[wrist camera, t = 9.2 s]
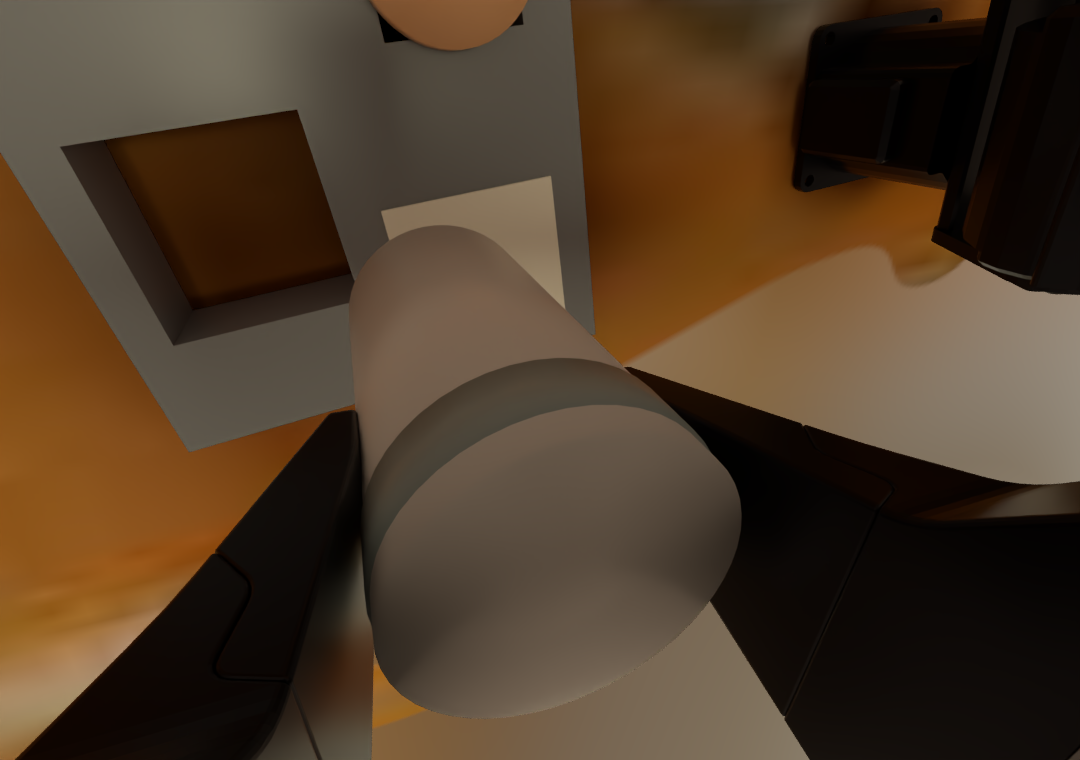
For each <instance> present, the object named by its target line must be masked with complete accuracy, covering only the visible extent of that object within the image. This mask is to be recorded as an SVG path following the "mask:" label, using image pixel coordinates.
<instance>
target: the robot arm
mask: <svg viewBox="0 0 1080 760" xmlns="http://www.w3.org/2000/svg"><path fill="white" fill-rule="evenodd" d="M826 35H827V42H826V44H825V38H826ZM866 177H874V178H879V179H885V180H891V181H896V182H902V183H908V184H914V185H919V186H925V187H931V188H937V189H942V190H946V192H945V196H944V200H943V204H942V208H941V212H940V217H939V221H938V225H937V226H935V227H934V231H933V235H932V239H931V241H932V242H934V243H936V244H938V245H940V246H942V247H944V248H946V249H947V250H949V251H951V252H953V253H955V254H957V255H959V256H961V257H963V258H964V259H966V260H968V261H970V262H972V263H974V264H976V265H978V266H980V267H981V268H983V269H985V270H987V271H989V272H991V273H993V274H995V275H997V276H998V277H1000V278H1002V279H1004V280H1006V281H1009V282H1011V283H1013V284H1015V285H1017V286H1019V287H1021V288H1023V289H1025V290H1028V291H1035V292H1037V291H1038V292H1047V293H1050V294H1072V295H1073V294H1074V295H1080V0H991V3H990V7H989V11H988V16H987V18H977V19H967V20H956V21H946V22H942V11H941V10H940V8H930V9H923V10H917V11H911V12H904V13H898V14H891V15H885V16H879V17H872V18H866V19H860V20H853V21H847V22H840V23H834V24H828V25H823V26H821V27H820V28H819V29H818V30H817V31H816V33H815V35H814V37H813V41H812V48H811V56H810V64H809V71H808V79H807V87H806V94H805V102H804V109H803V117H802V125H801V132H800V140H799V148H798V155H797V163H796V171H795V178H794V186H795V189H797V190H798V191H802V192H810V191H814V190H818V189H822V188H826V187H830V186H834V185H838V184H842V183H846V182H850V181H854V180H858V179H862V178H866ZM806 178H807V181H806V182H805V180H806ZM624 368H625V369H626V370H627V371H628V372H629V373H630V374H632V375H634V376H635V377H637V378H638V379H640V380H641V381H642V382H644V383H645V384H646V385H647V386H649V387H650V388H651V389H652V390H653V391H654V392H655V393H656V394H657V395H658V396H659V397H660V398H661V399H662V400H663V401H664V402H665V403H667V404H668V405H669V406H670V407H671V408H672V409H673V410H674V411H675V412H676V413H677V414H678V415H679V416H680V417H681V418H682V419H683V420H684V421H685V422H686V423H687V424H688V425H689V426H690V427H691V428H692V429H693V430H694V431H695V432H696V433H697V434H698V435H699V436H700V437H701V438H702V440H703V441H704V442H705V444H706V445H707V447H708V449H709V450H710V452H711V453H712V454H713V455H714V456H715V457H716V458H717V459H718V461H719V462H720V463H721V464H722V465H723V466H724V467H725V468H726V469H727V471H728V472H729V474H730V476H731V478H732V479H733V481H734V483H735V485H736V488H737V491H738V494H739V497H740V504H741V512H742V519H741V532H740V537H739V541H738V546H737V549H736V552H735V555H734V558H733V561H732V563H731V565H730V567H729V569H728V571H727V573H726V576H725V578H724V579H723V581H722V583H721V584H720V586H719V588H718V589H717V591H716V592H715V594H714V595H713V597H712V598H711V599H710V602H711V603H712V605H713V607H714V608H715V610H716V611H717V613H718V615H719V616H720V618H721V619H722V621H723V622H724V624H725V626H726V627H727V629H728V630H729V632H730V634H731V635H732V637H733V638H734V640H735V641H736V643H737V645H738V646H739V648H740V649H741V651H742V653H743V654H744V656H745V657H746V659H747V661H748V662H749V664H750V665H751V667H752V668H753V670H754V671H755V673H756V675H757V676H758V678H759V679H760V681H761V683H762V684H763V686H764V687H765V689H766V691H767V692H768V694H769V695H770V697H771V698H772V700H773V702H774V703H775V705H776V706H777V708H778V709H779V711H780V713H781V714H782V715H783V716H785V721H786V723H787V725H788V726H789V728H790V729H791V731H792V732H793V734H794V735H795V737H796V739H797V740H798V742H799V744H800V745H801V747H802V748H803V750H804V751H805V753H806V755H807V756H808V758H809V759H810V760H1080V481H1078V482H1070V483H1063V484H1047V485H1046V484H1045V485H1032V484H1019V483H1011V482H1005V481H999V480H995V479H991V478H986V477H982V476H979V475H975V474H971V473H968V472H964V471H961V470H957V469H954V468H950V467H946V466H943V465H939V464H935V463H932V462H928V461H925V460H921V459H917V458H914V457H910V456H907V455H903V454H899V453H895V452H892V451H889V450H885V449H882V448H878V447H875V446H871V445H868V444H864V443H861V442H858V441H855V440H851V439H848V438H845V437H842V436H838V435H835V434H832V433H829V432H826V431H823V430H820V429H817V428H814V427H811V426H808V425H805V426H802V424H801V423H798V422H795V421H792V420H789V419H786V418H783V417H780V416H777V415H774V414H771V413H768V412H765V411H762V410H759V409H756V408H753V407H750V406H746V405H744V404H741V403H738V402H734V401H731V400H728V399H725V398H722V397H719V396H716V395H713V394H710V393H707V392H704V391H701V390H698V389H695V388H692V387H689V386H686V385H683V384H680V383H677V382H674V381H671V380H668V379H665V378H662V377H659V376H656V375H653V374H649V373H647V372H643V371H640V370H637V369H634V368H631V367H624ZM362 505H363V501H362V476H361V454H360V441H359V429H358V416H357V412H356V411H354V410H348V411H341V412H335V413H331V414H329V415H328V416H327V417H326V418H325V419H324V421H323V422H322V423H321V424H320V425H319V427H318V428H317V429H316V430H315V431H314V433H313V434H312V435H311V436H310V437H309V439H308V440H307V441H306V442H305V443H304V445H303V446H302V447H301V448H300V449H299V450H298V452H297V453H296V454H295V455H294V456H293V458H292V459H291V460H290V461H289V462H288V464H287V465H286V466H285V467H284V468H283V470H282V471H281V472H280V473H279V474H278V476H277V477H276V478H275V479H274V480H273V482H272V483H271V484H270V485H269V486H268V488H267V489H266V490H265V491H264V492H263V494H262V495H261V496H260V497H259V498H258V500H257V501H256V502H255V503H254V504H253V506H252V507H251V508H250V509H249V510H248V512H247V513H246V514H245V515H244V516H243V518H242V519H241V520H240V521H239V522H238V524H237V525H236V526H235V527H234V528H233V530H232V531H231V532H230V533H229V534H228V536H227V537H226V538H225V539H224V540H223V542H222V543H221V544H220V545H219V546H218V548H217V549H216V551H215V554H212V555H211V556H210V557H209V558H208V559H207V560H206V562H205V563H204V564H203V565H202V566H201V568H200V569H199V570H198V571H197V572H196V573H195V575H194V576H193V577H192V578H191V579H190V580H189V582H188V583H187V584H186V585H185V586H184V587H183V588H182V589H181V591H180V592H179V593H178V594H177V595H176V596H175V597H174V599H173V600H172V601H171V602H170V603H169V604H168V605H167V606H166V608H165V609H164V610H163V611H162V612H161V613H160V614H159V615H158V616H157V617H156V618H155V619H154V620H153V621H152V622H151V623H150V624H149V625H148V626H147V627H146V628H145V630H144V631H143V632H142V633H141V634H140V635H139V636H138V637H137V638H136V639H135V640H134V641H133V642H132V643H131V644H130V645H129V646H128V647H127V648H126V649H125V650H124V651H123V652H122V653H121V654H120V655H119V656H118V657H117V658H116V659H115V660H114V661H113V662H112V663H111V664H110V665H109V666H108V667H107V668H106V669H105V670H104V671H103V672H102V673H101V674H100V675H99V676H98V677H97V678H96V679H95V680H94V681H93V682H92V683H91V684H90V685H89V686H88V687H87V688H86V689H85V690H84V691H83V692H82V693H81V694H80V695H79V696H78V697H77V698H76V699H75V700H74V701H73V702H72V703H71V704H70V705H69V706H68V707H67V708H66V709H65V710H64V711H63V712H62V713H61V714H60V715H59V716H58V717H57V718H56V719H55V720H54V721H53V722H52V723H51V724H50V725H49V726H48V727H47V728H46V729H45V730H44V731H43V732H42V733H41V734H40V735H39V736H38V737H37V738H36V739H35V740H34V741H33V742H32V743H31V744H30V745H29V746H28V747H27V748H26V749H25V750H24V751H23V752H22V753H21V754H20V755H19V756H18V757H17V758H16V759H15V760H371V752H372V706H373V658H374V642H373V634H372V626H371V623H370V620H369V618H368V615H367V610H366V602H365V594H364V578H363V563H362V548H361V533H360V524H361V509H362Z"/></svg>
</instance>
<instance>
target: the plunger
mask: <svg viewBox="0 0 1080 760" xmlns="http://www.w3.org/2000/svg"><path fill="white" fill-rule="evenodd" d="M369 1H370V2H371V4H372V5H373V7H374V8H375V9H376V10H377V12H378V13H379V14H380V15H381V16H382V17H383V19H384V20H386V21H387V22H388V23H389V24H390V25H391V26H392V27H393V28H394V29H395V30H397V31H398V32H399V33H401V34H402V35H403V36H405V37H407V38H409V39H410V40H412V41H414V42H416V43H418V44H421V45H423V46H425V47H429V48H433V49H437V50H444V51H458V50H464V49H469V48H473V47H478V46H481V45H483V44H485V43H488V42H490V41H492V40H493V39H495V38H497V37H498V36H500V35H501V34H502V33H503V32H504V31H506V30H507V29H508V28H509V27H510V26H511V25H512V24H513V22H514V21H515V20H516V19H517V17H518V16H519V15H520V13H521V12H522V10H523V8H524V7H525V5H526V3H527V1H528V0H369Z"/></svg>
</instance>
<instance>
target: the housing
mask: <svg viewBox="0 0 1080 760" xmlns="http://www.w3.org/2000/svg"><path fill="white" fill-rule="evenodd" d="M296 109H297V110H298V113H299V116H300V119H301V122H302V125H303V128H304V131H305V134H306V137H307V140H308V143H309V146H310V149H311V152H312V155H313V158H314V161H315V164H316V167H317V170H318V173H319V176H320V179H321V182H322V186H323V189H324V192H325V195H326V198H327V201H328V204H329V207H330V210H331V213H332V216H333V219H334V222H335V225H336V228H337V231H338V234H339V237H340V240H341V243H342V246H343V249H344V252H345V255H346V258H347V261H348V264H349V267H350V270H351V273H352V274H347V275H343V276H339V277H335V278H330V279H326V280H322V281H317V282H313V283H309V284H304V285H300V286H296V287H292V288H287V289H283V290H279V291H274V292H270V293H266V294H262V295H257V296H253V297H249V298H244V299H240V300H236V301H232V302H227V303H223V304H219V305H214V306H210V307H206V308H202V309H197V310H192V308H191V306H190V304H189V302H188V300H187V298H186V296H185V295H184V293H183V291H182V289H181V287H180V285H179V283H178V281H177V279H176V277H175V275H174V274H173V272H172V270H171V268H170V266H169V264H168V262H167V260H166V258H165V256H164V255H163V253H162V251H161V249H160V247H159V245H158V243H157V241H156V239H155V237H154V235H153V234H152V232H151V230H150V228H149V226H148V224H147V222H146V220H145V218H144V216H143V215H142V213H141V211H140V209H139V207H138V205H137V203H136V201H135V199H134V197H133V195H132V194H131V192H130V190H129V188H128V186H127V184H126V182H125V180H124V178H123V176H122V175H121V173H120V171H119V169H118V167H117V165H116V163H115V161H114V159H113V157H112V155H111V154H110V152H109V150H108V148H107V146H106V144H105V142H104V140H106V139H112V138H118V137H125V136H131V135H137V134H144V133H150V132H156V131H163V130H169V129H175V128H182V127H188V126H194V125H201V124H207V123H214V122H220V121H226V120H233V119H239V118H245V117H252V116H258V115H264V114H271V113H277V112H283V111H290V110H296ZM0 153H1V154H2V156H3V157H4V159H5V160H6V162H7V164H8V165H9V167H10V168H11V170H12V172H13V173H14V175H15V176H16V178H17V180H18V181H19V183H20V184H21V186H22V188H23V189H24V191H25V192H26V194H27V195H28V197H29V199H30V200H31V202H32V203H33V205H34V207H35V208H36V210H37V211H38V213H39V215H40V216H41V218H42V219H43V221H44V222H45V224H46V226H47V227H48V229H49V230H50V232H51V234H52V235H53V237H54V238H55V240H56V242H57V243H58V245H59V246H60V248H61V249H62V251H63V253H64V254H65V256H66V257H67V259H68V261H69V262H70V264H71V265H72V267H73V269H74V270H75V272H76V273H77V275H78V276H79V278H80V280H81V281H82V283H83V284H84V286H85V288H86V289H87V291H88V292H89V294H90V296H91V297H92V299H93V300H94V302H95V303H96V305H97V307H98V308H99V310H100V311H101V313H102V315H103V316H104V318H105V319H106V321H107V323H108V324H109V326H110V327H111V329H112V330H113V332H114V334H115V335H116V337H117V338H118V340H119V342H120V343H121V345H122V346H123V348H124V350H125V351H126V353H127V354H128V356H129V357H130V359H131V361H132V362H133V364H134V365H135V367H136V369H137V370H138V372H139V373H140V375H141V377H142V378H143V380H144V381H145V383H146V384H147V386H148V388H149V389H150V391H151V392H152V394H153V396H154V397H155V399H156V400H157V402H158V404H159V405H160V407H161V408H162V410H163V411H164V413H165V415H166V416H167V418H168V419H169V421H170V423H171V424H172V426H173V427H174V429H175V431H176V432H177V434H178V435H179V437H180V438H181V440H182V442H183V443H184V445H185V446H186V448H187V450H188V451H189V452H192V451H195V450H198V449H202V448H205V447H209V446H212V445H216V444H219V443H223V442H226V441H229V440H233V439H236V438H240V437H243V436H247V435H250V434H253V433H257V432H260V431H264V430H267V429H271V428H274V427H278V426H281V425H284V424H288V423H291V422H295V421H298V420H302V419H305V418H309V417H312V416H315V415H319V414H322V413H326V412H329V411H333V410H336V409H339V408H343V407H346V406H350V405H353V404H355V394H354V381H353V368H352V355H351V341H350V328H349V301H350V296H351V291H352V288H353V285H354V283H355V280H356V278H357V276H358V274H359V272H360V270H361V269H362V267H363V266H364V265H365V263H366V262H367V260H368V259H369V258H370V257H371V256H372V255H373V254H374V253H375V252H376V251H377V250H378V249H379V248H380V247H382V246H383V245H384V244H385V243H387V242H388V241H390V240H391V239H393V238H395V237H397V236H398V235H401V234H403V233H405V232H408V231H410V230H414V229H417V228H421V227H426V226H434V225H450V226H458V227H463V228H467V229H470V230H473V231H476V232H478V233H481V234H483V235H485V236H486V237H488V238H490V239H491V240H493V241H495V242H496V243H497V244H498V245H500V246H501V247H502V248H503V249H504V250H505V251H506V252H507V253H508V254H509V255H510V256H511V257H512V258H513V259H514V260H515V261H516V262H517V263H518V264H519V265H520V266H521V267H523V268H524V269H525V270H526V271H527V272H528V273H529V274H530V275H531V276H532V277H533V278H534V279H535V280H536V281H537V282H538V283H539V284H540V285H541V286H542V287H543V288H544V289H545V290H546V291H547V292H548V293H549V294H550V295H551V296H552V297H553V298H554V299H555V300H556V301H557V302H558V303H559V304H560V305H561V306H562V307H563V308H564V309H565V310H566V311H567V312H568V313H569V314H570V315H571V316H572V317H573V318H574V319H575V320H576V321H577V322H578V323H579V324H580V325H581V326H582V327H583V328H585V329H586V330H587V331H588V332H589V333H590V334H591V335H594V334H595V323H594V310H593V296H592V283H591V270H590V257H589V243H588V230H587V217H586V203H585V190H584V177H583V163H582V150H581V137H580V124H579V110H578V97H577V84H576V70H575V57H574V44H573V30H572V17H571V4H570V0H528V1H527V3H526V5H525V7H524V8H523V10H522V12H521V13H520V15H519V16H518V17H517V19H516V20H515V21H514V22H513V24H512V25H511V26H510V27H509V28H508V29H507V30H506V31H504V32H503V33H502V34H501V35H500V36H498V37H497V38H495V39H493V40H492V41H490V42H488V43H485V44H483V45H481V46H478V47H473V48H469V49H464V50H458V51H444V50H437V49H433V48H429V47H425V46H423V45H421V44H418V43H416V42H414V41H412V40H406V41H399V42H391V43H384V39H383V34H382V30H381V26H380V22H379V18H378V13H377V10H376V9H375V8H374V7H373V5H372V4H371V2H370V1H369V0H0Z"/></svg>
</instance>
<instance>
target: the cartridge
mask: <svg viewBox="0 0 1080 760" xmlns="http://www.w3.org/2000/svg"><path fill="white" fill-rule="evenodd" d="M349 328H350V341H351V355H352V368H353V381H354V394H355V408H356V412H357V416H358V429H359V441H360V454H361V476H362V501H363V505H362V509H361V524H360V533H361V548H362V563H363V578H364V594H365V602H366V610H367V615H368V618H369V620H370V623H371V626H372V634H373V642H374V650H375V655H376V658H377V660H378V663H379V666H380V669H381V670H382V672H383V674H384V675H385V677H386V678H387V680H388V681H389V683H390V684H391V685H392V686H393V687H394V688H395V689H396V690H397V691H398V692H399V693H400V694H401V695H403V696H404V697H406V698H407V699H409V700H410V701H412V702H413V703H415V704H417V705H419V706H421V707H424V708H426V709H428V710H431V711H434V712H437V713H441V714H445V715H449V716H456V717H463V718H481V719H488V718H503V717H512V716H518V715H525V714H530V713H534V712H538V711H542V710H546V709H550V708H553V707H556V706H559V705H562V704H565V703H569V702H571V701H574V700H576V699H578V698H581V697H584V696H586V695H589V694H591V693H593V692H595V691H597V690H599V689H601V688H603V687H605V686H608V685H609V684H611V683H613V682H615V681H616V680H618V679H620V678H622V677H624V676H625V675H627V674H628V673H630V672H632V671H633V670H635V669H636V668H638V667H639V666H641V665H643V664H644V663H645V662H647V661H648V660H649V659H651V658H652V657H653V656H655V655H656V654H657V653H659V652H660V651H661V650H663V649H664V648H665V647H666V646H667V645H668V644H669V643H671V642H672V641H673V640H674V639H675V638H677V636H679V634H681V633H682V631H684V630H685V628H687V627H688V626H689V625H690V624H691V623H692V621H693V620H694V619H695V618H696V617H697V616H698V615H699V613H700V612H701V611H702V610H703V609H704V607H705V606H706V604H708V602H709V601H710V599H711V598H712V597H713V595H714V594H715V592H716V591H717V589H718V588H719V586H720V584H721V583H722V581H723V579H724V578H725V576H726V573H727V571H728V569H729V567H730V565H731V563H732V561H733V558H734V555H735V552H736V549H737V546H738V541H739V537H740V532H741V519H742V512H741V504H740V497H739V494H738V491H737V488H736V485H735V483H734V481H733V479H732V478H731V476H730V474H729V472H728V471H727V469H726V468H725V467H724V466H723V465H722V464H721V463H720V462H719V461H718V459H717V458H716V457H715V456H714V455H713V454H712V453H711V452H710V450H709V449H708V447H707V445H706V444H705V442H704V441H703V440H702V438H701V437H700V436H699V435H698V434H697V433H696V432H695V431H694V430H693V429H692V428H691V427H690V426H689V425H688V424H687V423H686V422H685V421H684V420H683V419H682V418H681V417H680V416H679V415H678V414H677V413H676V412H675V411H674V410H673V409H672V408H671V407H670V406H669V405H668V404H667V403H665V402H664V401H663V400H662V399H661V398H660V397H659V396H658V395H657V394H656V393H655V392H654V391H653V390H652V389H651V388H650V387H649V386H647V385H646V384H645V383H644V382H642V381H641V380H640V379H638V378H637V377H635V376H634V375H632V374H630V373H629V372H628V371H627V370H626V369H625V368H624V367H623V366H622V365H621V364H620V363H619V362H618V361H617V360H616V359H615V358H614V357H613V356H612V355H611V354H610V353H609V352H608V351H607V350H606V349H605V348H604V347H603V346H602V345H601V344H600V343H599V342H598V341H597V340H596V339H595V338H594V337H593V336H592V335H591V334H590V333H589V332H588V331H587V330H586V329H585V328H583V327H582V326H581V325H580V324H579V323H578V322H577V321H576V320H575V319H574V318H573V317H572V316H571V315H570V314H569V313H568V312H567V311H566V310H565V309H564V308H563V307H562V306H561V305H560V304H559V303H558V302H557V301H556V300H555V299H554V298H553V297H552V296H551V295H550V294H549V293H548V292H547V291H546V290H545V289H544V288H543V287H542V286H541V285H540V284H539V283H538V282H537V281H536V280H535V279H534V278H533V277H532V276H531V275H530V274H529V273H528V272H527V271H526V270H525V269H524V268H523V267H521V266H520V265H519V264H518V263H517V262H516V261H515V260H514V259H513V258H512V257H511V256H510V255H509V254H508V253H507V252H506V251H505V250H504V249H503V248H502V247H501V246H500V245H498V244H497V243H496V242H495V241H493V240H491V239H490V238H488V237H486V236H485V235H483V234H481V233H478V232H476V231H473V230H470V229H467V228H463V227H458V226H450V225H434V226H426V227H421V228H417V229H414V230H410V231H408V232H405V233H403V234H401V235H398V236H397V237H395V238H393V239H391V240H390V241H388V242H387V243H385V244H384V245H383V246H382V247H380V248H379V249H378V250H377V251H376V252H375V253H374V254H373V255H372V256H371V257H370V258H369V259H368V260H367V262H366V263H365V265H364V266H363V267H362V269H361V270H360V272H359V274H358V276H357V278H356V280H355V283H354V285H353V288H352V291H351V296H350V301H349Z"/></svg>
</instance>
